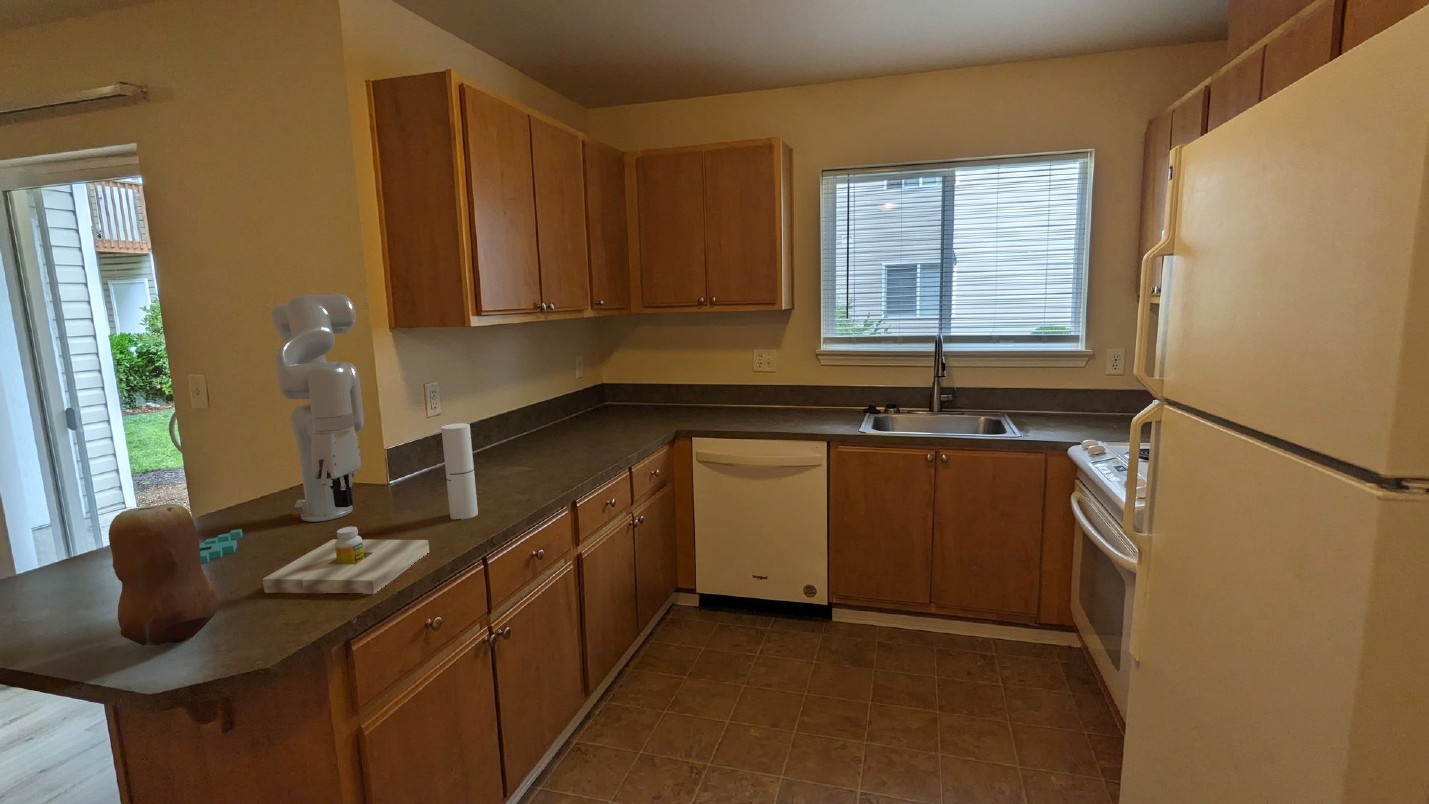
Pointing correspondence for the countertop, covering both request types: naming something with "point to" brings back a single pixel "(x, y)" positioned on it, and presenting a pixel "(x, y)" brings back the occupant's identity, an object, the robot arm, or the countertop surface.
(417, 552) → the socket board
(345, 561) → the supplement bottle
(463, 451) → the cylindrical container
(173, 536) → the butternut squash
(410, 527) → the countertop surface
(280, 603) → the countertop surface
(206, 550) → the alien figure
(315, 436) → the robot arm
